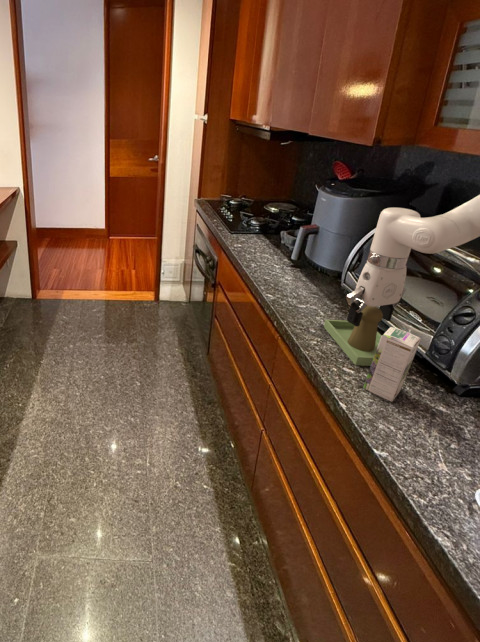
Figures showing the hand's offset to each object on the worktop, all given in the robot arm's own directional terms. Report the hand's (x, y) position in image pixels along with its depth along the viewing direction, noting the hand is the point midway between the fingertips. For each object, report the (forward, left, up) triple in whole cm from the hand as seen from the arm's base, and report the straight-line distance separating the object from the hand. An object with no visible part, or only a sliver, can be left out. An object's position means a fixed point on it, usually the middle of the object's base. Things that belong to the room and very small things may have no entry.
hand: (368, 320), depth 99 cm
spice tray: (0, 0, -8) cm, 8 cm away
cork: (0, 0, -7) cm, 7 cm away
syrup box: (-12, +13, -8) cm, 19 cm away
